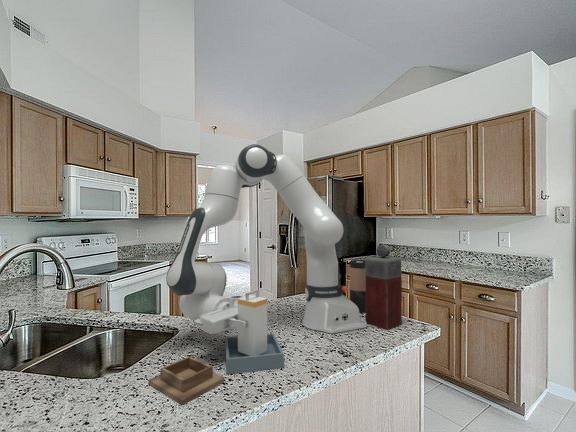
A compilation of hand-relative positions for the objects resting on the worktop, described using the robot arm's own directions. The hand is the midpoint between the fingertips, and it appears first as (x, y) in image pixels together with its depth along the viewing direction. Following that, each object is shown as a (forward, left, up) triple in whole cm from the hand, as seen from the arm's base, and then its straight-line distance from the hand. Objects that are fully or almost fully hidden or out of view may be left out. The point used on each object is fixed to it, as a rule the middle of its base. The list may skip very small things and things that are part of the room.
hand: (255, 321), depth 82 cm
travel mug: (-46, -34, -10) cm, 58 cm away
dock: (+17, +8, -10) cm, 21 cm away
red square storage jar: (-49, -18, -10) cm, 53 cm away
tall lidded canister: (+1, -1, -8) cm, 8 cm away
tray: (+1, -1, -10) cm, 10 cm away
